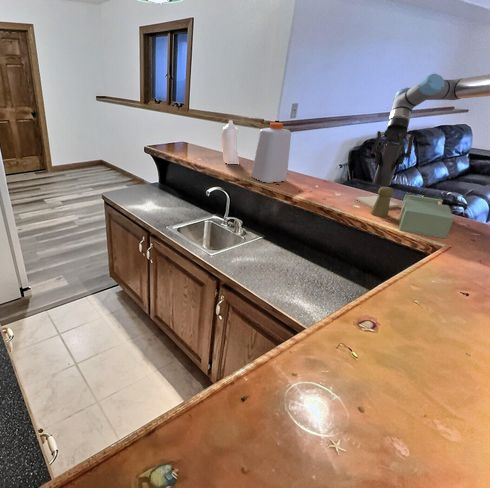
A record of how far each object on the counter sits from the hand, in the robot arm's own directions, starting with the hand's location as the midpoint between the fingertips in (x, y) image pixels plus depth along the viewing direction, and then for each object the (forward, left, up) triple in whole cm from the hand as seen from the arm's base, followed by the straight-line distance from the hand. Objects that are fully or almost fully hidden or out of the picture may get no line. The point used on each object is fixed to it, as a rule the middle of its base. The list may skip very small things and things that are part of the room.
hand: (386, 169), depth 141 cm
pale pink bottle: (+80, +38, -16) cm, 90 cm away
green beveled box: (-23, 0, -16) cm, 28 cm away
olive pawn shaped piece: (-9, +6, -16) cm, 19 cm away
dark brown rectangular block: (+3, -2, -7) cm, 8 cm away
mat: (+3, -2, -16) cm, 16 cm away
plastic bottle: (+44, +29, -16) cm, 55 cm away
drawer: (-14, -9, -15) cm, 22 cm away
